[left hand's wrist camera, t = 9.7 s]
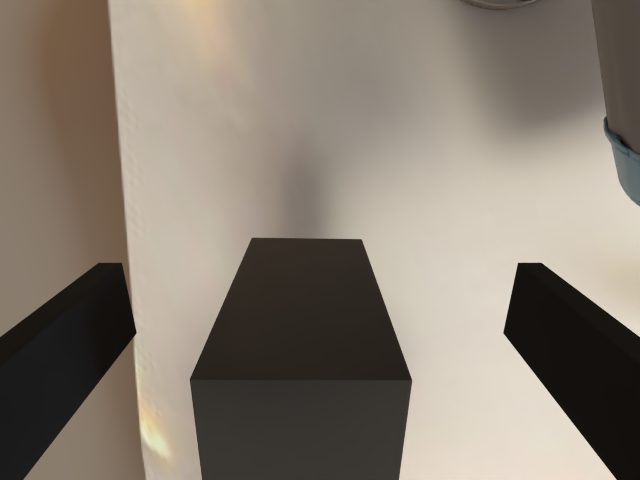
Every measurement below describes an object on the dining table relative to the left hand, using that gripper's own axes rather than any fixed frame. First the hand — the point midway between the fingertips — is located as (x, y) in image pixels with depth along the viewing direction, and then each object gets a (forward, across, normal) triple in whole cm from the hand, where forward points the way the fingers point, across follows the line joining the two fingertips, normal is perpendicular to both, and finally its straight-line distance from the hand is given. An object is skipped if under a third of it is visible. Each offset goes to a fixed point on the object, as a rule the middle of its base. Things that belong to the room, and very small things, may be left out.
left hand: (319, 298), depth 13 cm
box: (+9, -1, -13) cm, 16 cm away
